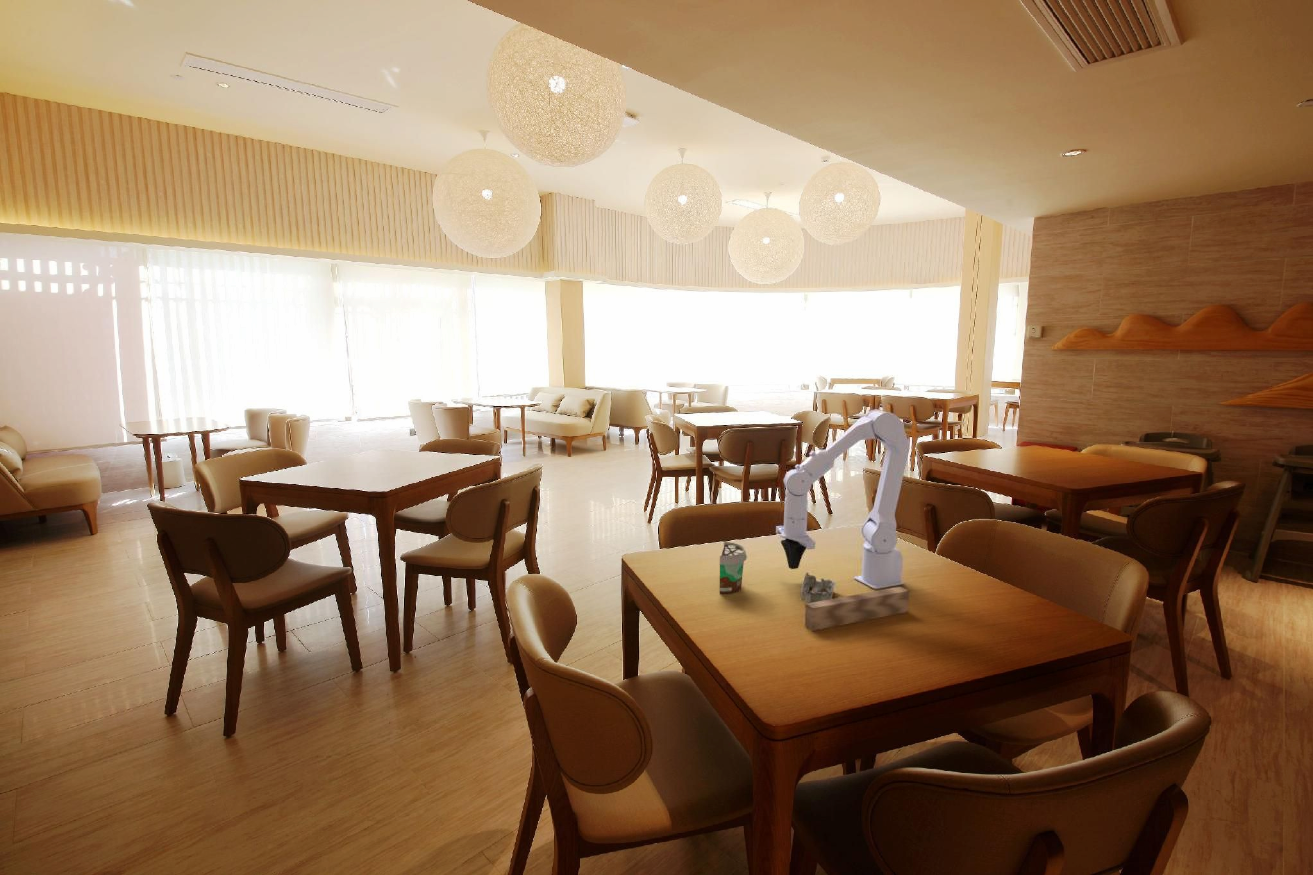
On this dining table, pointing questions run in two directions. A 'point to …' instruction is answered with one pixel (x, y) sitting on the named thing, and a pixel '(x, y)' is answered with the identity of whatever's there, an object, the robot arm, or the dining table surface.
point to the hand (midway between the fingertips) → (793, 567)
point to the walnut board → (856, 608)
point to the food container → (731, 568)
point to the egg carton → (816, 589)
